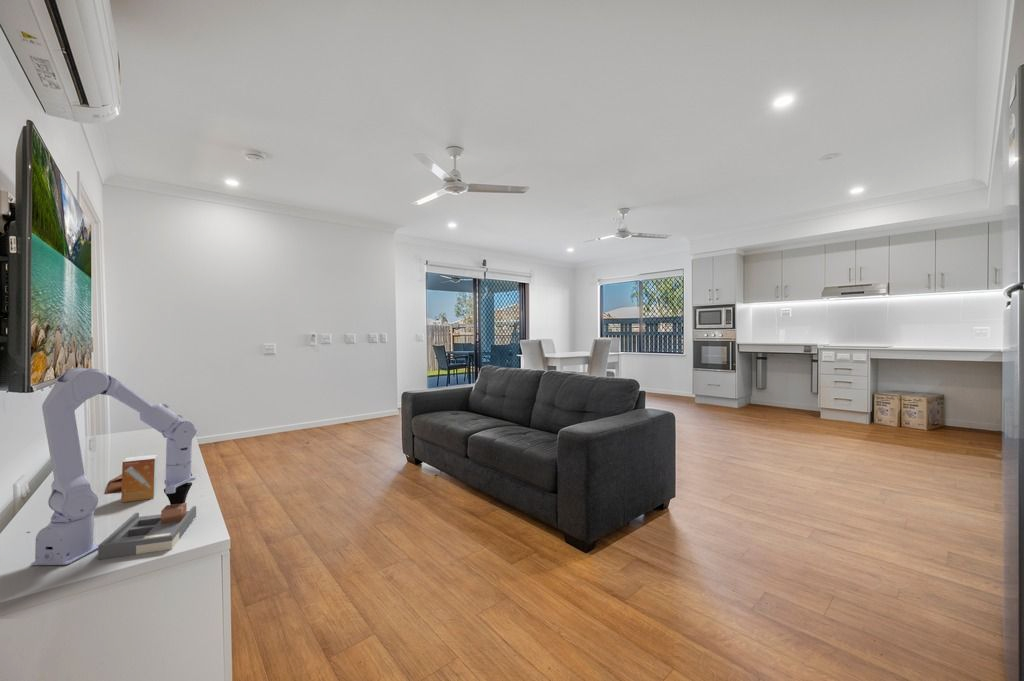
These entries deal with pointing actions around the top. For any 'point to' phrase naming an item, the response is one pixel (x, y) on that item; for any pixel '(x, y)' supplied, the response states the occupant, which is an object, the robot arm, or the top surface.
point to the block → (173, 513)
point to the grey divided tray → (144, 535)
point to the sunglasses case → (115, 485)
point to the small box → (139, 478)
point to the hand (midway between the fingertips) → (177, 511)
